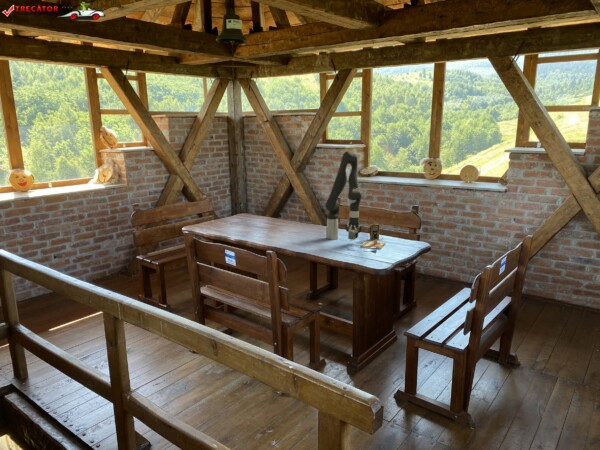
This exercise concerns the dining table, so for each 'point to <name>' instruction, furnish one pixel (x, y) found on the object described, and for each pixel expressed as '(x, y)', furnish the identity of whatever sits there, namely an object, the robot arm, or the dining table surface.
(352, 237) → the block
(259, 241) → the dining table surface
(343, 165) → the robot arm
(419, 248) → the dining table surface
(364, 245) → the board
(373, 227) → the multimeter
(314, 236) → the dining table surface
